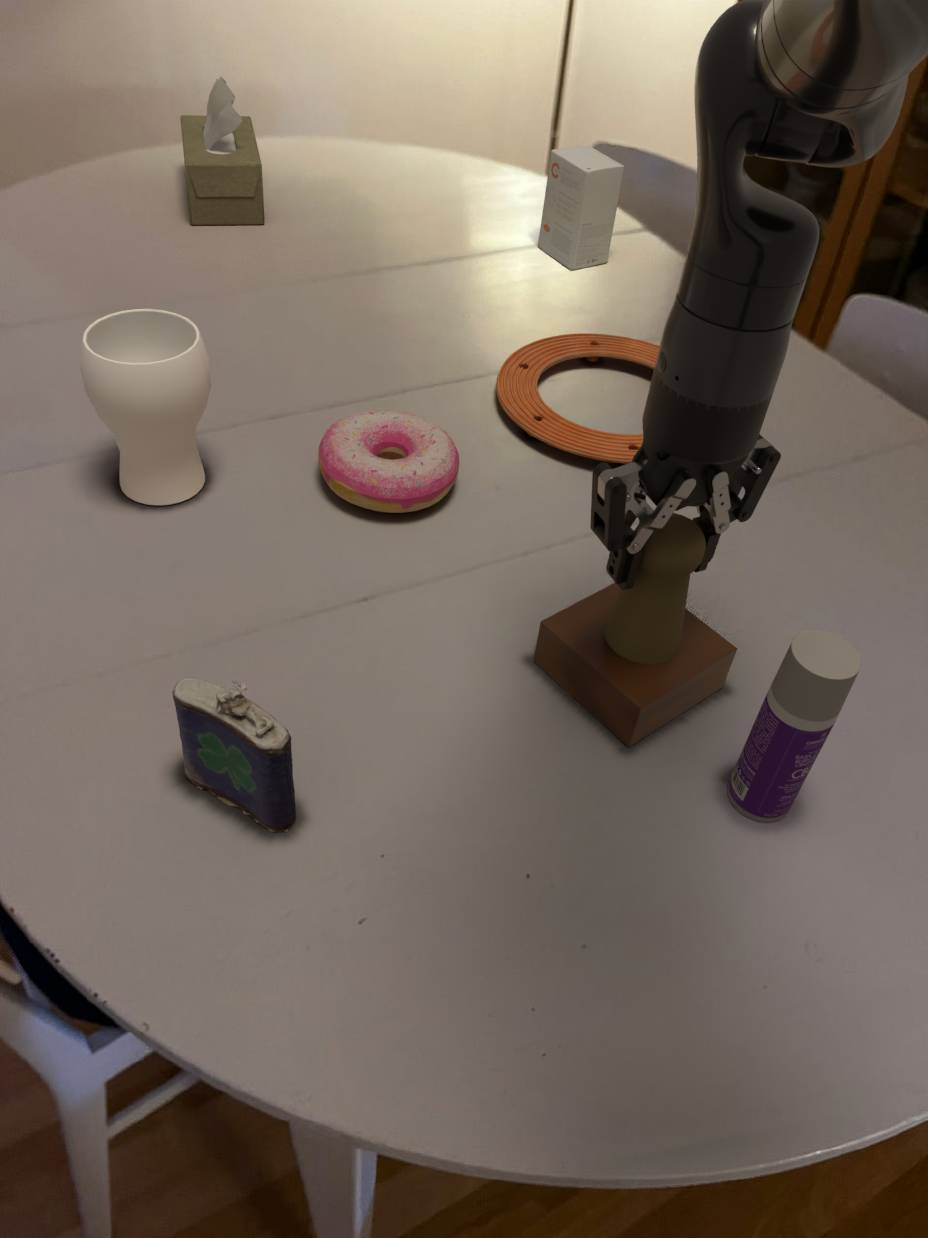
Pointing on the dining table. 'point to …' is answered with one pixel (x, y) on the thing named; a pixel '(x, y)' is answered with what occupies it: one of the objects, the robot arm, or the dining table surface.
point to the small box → (580, 206)
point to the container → (793, 724)
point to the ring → (547, 425)
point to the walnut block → (629, 668)
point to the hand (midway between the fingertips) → (657, 572)
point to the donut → (388, 461)
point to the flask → (236, 751)
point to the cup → (150, 399)
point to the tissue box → (222, 164)
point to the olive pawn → (657, 594)
